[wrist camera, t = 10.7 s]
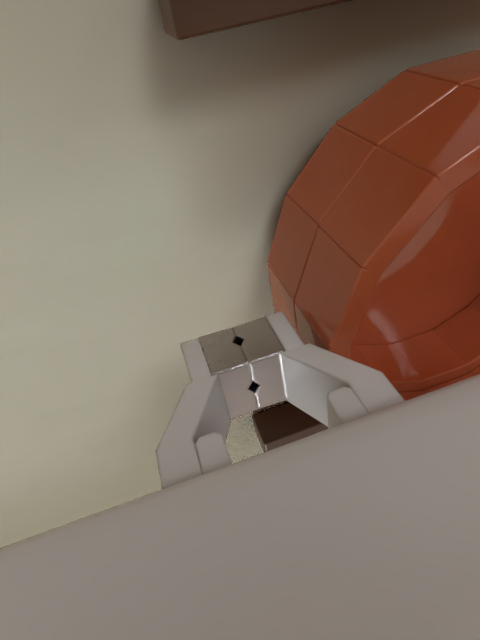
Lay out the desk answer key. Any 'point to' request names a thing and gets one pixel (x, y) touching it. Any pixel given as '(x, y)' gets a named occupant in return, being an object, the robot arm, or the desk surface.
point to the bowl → (391, 232)
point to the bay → (212, 16)
